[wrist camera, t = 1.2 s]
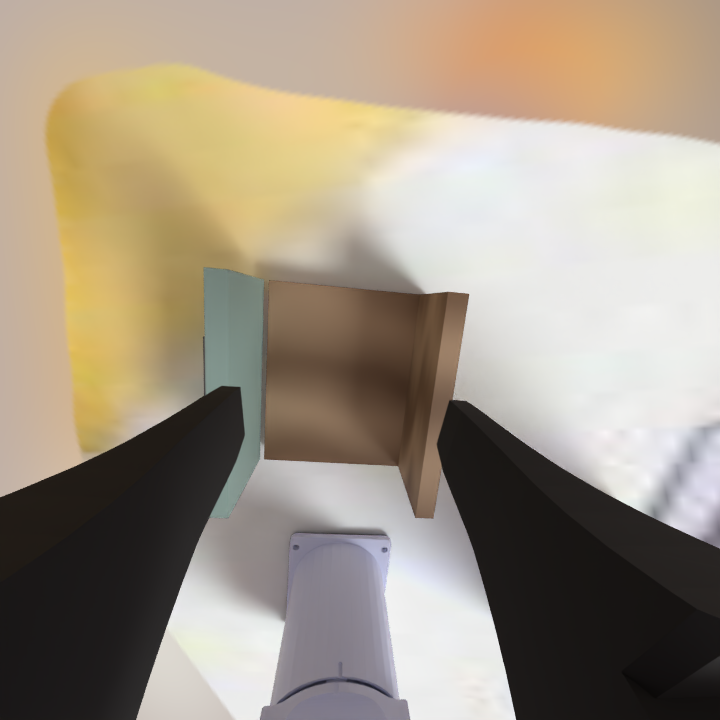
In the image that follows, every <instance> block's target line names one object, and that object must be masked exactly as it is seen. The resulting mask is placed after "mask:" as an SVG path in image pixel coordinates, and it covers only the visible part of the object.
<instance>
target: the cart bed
mask: <svg viewBox="0 0 720 720" xmlns="http://www.w3.org/2000/svg"><path fill="white" fill-rule="evenodd" d="M468 299H469V294H465V293H455V292H442V293H432V294H422V295H417V294H407V293H396V292H386V291H376V290H365V289H355V288H344V287H334V286H323V285H313V284H302V283H292V282H281V281H271V280H269V302H268V339H267V375H266V412H265V449H264V459H269V460H289V461H308V462H328V463H348V464H368V465H388V466H398V467H399V470H400V473H401V476H402V479H403V482H404V485H405V488H406V491H407V494H408V497H409V500H410V503H411V506H412V509H413V512H414V515H415V518H433V517H434V511H435V505H436V498H437V492H438V486H439V480H440V473H441V467H442V465H441V461H440V457H439V453H438V449H437V441H438V437H439V434H440V430H441V427H442V424H443V420H444V417H445V413H446V410H447V406H448V403H449V400H452V398H453V392H454V386H455V380H456V374H457V367H458V361H459V355H460V349H461V342H462V336H463V330H464V324H465V317H466V311H467V305H468Z"/></svg>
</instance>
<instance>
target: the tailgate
mask: <svg viewBox="0 0 720 720" xmlns="http://www.w3.org/2000/svg"><path fill="white" fill-rule="evenodd" d="M263 304H264V280H263V279H259V278H256V277H252V276H249V275H245V274H242V273H238V272H235V271H231V270H227V269H216V268H206V267H204V318H205V336H204V337H203V352H204V396H205V395H206V394H208V393H210V392H211V391H213V390H215V389H217V388H218V387H220V386H234V387H241V397H242V407H243V418H244V429H245V437H244V440H243V443H242V446H241V449H240V452H239V455H238V458H237V461H236V463H235V465H234V467H233V470H232V472H231V474H230V476H229V478H228V480H227V482H226V484H225V486H224V488H223V490H222V492H221V494H220V497H219V499H218V501H217V503H216V505H215V507H214V509H213V511H212V513H211V515H210V517H209V518H229V516H230V514H231V512H232V510H233V508H234V506H235V505H236V503H237V501H238V499H239V497H240V495H241V493H242V491H243V490H244V488H245V486H246V484H247V482H248V480H249V478H250V476H251V475H252V473H253V471H254V469H255V467H256V465H257V463H258V461H259V460H260V429H261V387H262V346H263Z"/></svg>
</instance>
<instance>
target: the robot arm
mask: <svg viewBox="0 0 720 720" xmlns="http://www.w3.org/2000/svg"><path fill="white" fill-rule="evenodd" d="M244 437H245V429H244V418H243V407H242V397H241V387H234V386H220V387H218V388H217V389H215V390H213V391H211V392H210V393H208V394H206V395H205V396H203V397H202V398H200V399H198V400H197V401H195V402H194V403H192V404H190V405H189V406H187V407H186V408H184V409H182V410H181V411H179V412H177V413H176V414H174V415H172V416H171V417H169V418H168V419H166V420H164V421H162V422H161V423H159V424H157V425H155V426H153V427H152V428H150V429H148V430H146V431H145V432H143V433H141V434H139V435H137V436H136V437H134V438H132V439H130V440H128V441H126V442H125V443H123V444H121V445H119V446H117V447H115V448H113V449H111V450H109V451H107V452H105V453H103V454H100V455H98V456H96V457H94V458H92V459H90V460H88V461H86V462H84V463H81V464H79V465H77V466H75V467H73V468H70V469H68V470H66V471H63V472H61V473H59V474H56V475H54V476H51V477H49V478H46V479H44V480H42V481H39V482H37V483H35V484H32V485H30V486H27V487H25V488H23V489H20V490H18V491H15V492H13V493H10V494H8V495H5V496H3V497H0V720H136V718H137V715H138V711H139V708H140V705H141V702H142V699H143V696H144V693H145V689H146V686H147V683H148V680H149V677H150V674H151V671H152V668H153V665H154V662H155V659H156V656H157V653H158V650H159V647H160V644H161V642H162V639H163V636H164V633H165V630H166V627H167V624H168V621H169V618H170V616H171V613H172V610H173V607H174V604H175V602H176V599H177V596H178V593H179V590H180V588H181V585H182V582H183V579H184V577H185V574H186V572H187V569H188V566H189V564H190V561H191V558H192V556H193V553H194V550H195V548H196V545H197V543H198V541H199V538H200V536H201V534H202V532H203V529H204V527H205V525H206V523H207V521H208V519H209V517H210V515H211V513H212V511H213V509H214V507H215V505H216V503H217V501H218V499H219V497H220V494H221V492H222V490H223V488H224V486H225V484H226V482H227V480H228V478H229V476H230V474H231V472H232V470H233V467H234V465H235V463H236V461H237V458H238V455H239V452H240V449H241V446H242V443H243V440H244ZM437 449H438V453H439V457H440V461H441V465H442V469H443V472H444V475H445V477H446V480H447V483H448V485H449V488H450V490H451V493H452V495H453V498H454V500H455V503H456V505H457V508H458V510H459V513H460V515H461V518H462V520H463V523H464V525H465V528H466V530H467V533H468V536H469V539H470V541H471V544H472V547H473V550H474V553H475V557H476V560H477V563H478V567H479V570H480V574H481V577H482V581H483V584H484V588H485V591H486V595H487V599H488V602H489V606H490V610H491V614H492V617H493V621H494V625H495V629H496V633H497V637H498V641H499V646H500V650H501V654H502V658H503V662H504V666H505V670H506V674H507V679H508V684H509V688H510V693H511V698H512V702H513V707H514V711H515V716H516V720H720V549H719V548H717V547H715V546H713V545H710V544H708V543H706V542H704V541H701V540H699V539H697V538H695V537H693V536H690V535H688V534H686V533H684V532H682V531H679V530H677V529H675V528H673V527H671V526H669V525H666V524H664V523H662V522H660V521H658V520H656V519H654V518H652V517H650V516H648V515H646V514H644V513H642V512H640V511H638V510H636V509H634V508H632V507H630V506H628V505H626V504H624V503H622V502H621V501H619V500H617V499H615V498H613V497H611V496H609V495H607V494H605V493H604V492H602V491H600V490H598V489H596V488H594V487H593V486H591V485H589V484H588V483H586V482H584V481H583V480H581V479H579V478H577V477H576V476H574V475H572V474H571V473H569V472H567V471H566V470H564V469H562V468H561V467H559V466H558V465H556V464H554V463H553V462H551V461H550V460H548V459H547V458H545V457H544V456H542V455H541V454H539V453H538V452H536V451H535V450H533V449H532V448H531V447H529V446H528V445H526V444H525V443H523V442H522V441H521V440H519V439H518V438H516V437H515V436H514V435H512V434H511V433H510V432H508V431H507V430H506V429H504V428H503V427H502V426H500V425H499V424H497V423H496V422H495V421H493V420H492V419H491V418H489V417H488V416H487V415H485V414H484V413H483V412H481V411H480V410H479V409H477V408H476V407H474V406H473V405H471V404H470V403H468V402H467V401H456V400H449V403H448V406H447V410H446V413H445V417H444V420H443V424H442V427H441V430H440V434H439V437H438V441H437ZM295 545H298V546H295ZM383 547H386V548H385V549H383ZM390 549H391V540H390V538H389V537H388V536H373V535H342V534H310V533H295V534H293V535H292V536H291V539H290V551H289V571H288V592H287V612H286V620H285V626H284V631H283V637H282V642H281V648H280V653H279V659H278V664H277V670H276V675H275V681H274V686H273V692H272V697H271V703H270V706H264V707H263V708H262V711H261V716H260V720H410V716H409V709H408V703H407V701H406V700H404V699H399V692H398V685H397V678H396V671H395V664H394V657H393V650H392V642H391V635H390V628H389V621H388V614H387V607H386V600H385V588H386V580H387V573H388V565H389V557H390Z"/></svg>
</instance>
